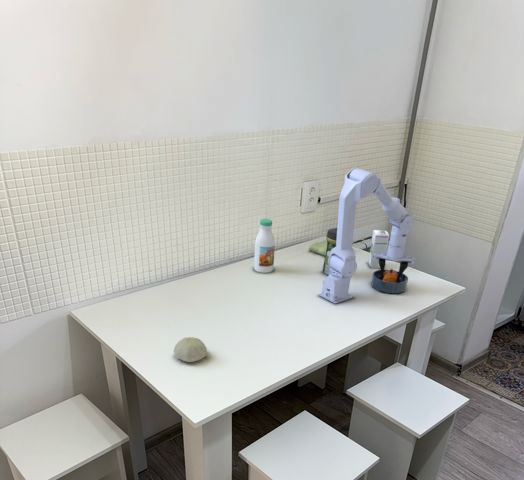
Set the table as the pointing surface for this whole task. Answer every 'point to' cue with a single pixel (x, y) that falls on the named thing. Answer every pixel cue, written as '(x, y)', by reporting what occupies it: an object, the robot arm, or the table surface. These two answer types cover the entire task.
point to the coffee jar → (329, 248)
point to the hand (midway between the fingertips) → (389, 279)
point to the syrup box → (378, 246)
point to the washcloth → (319, 247)
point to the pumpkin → (390, 276)
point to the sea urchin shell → (190, 349)
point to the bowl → (389, 283)
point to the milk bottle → (264, 248)
